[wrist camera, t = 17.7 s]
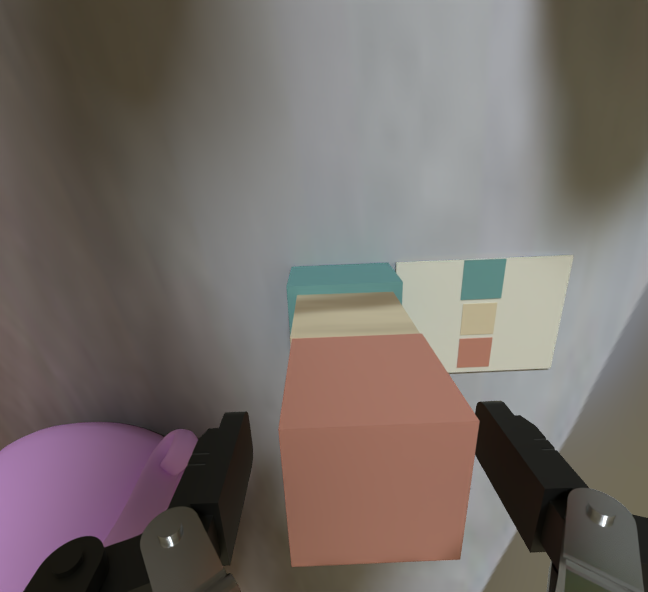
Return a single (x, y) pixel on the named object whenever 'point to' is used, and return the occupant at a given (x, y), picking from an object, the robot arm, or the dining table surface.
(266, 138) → the dining table surface
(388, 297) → the maple block
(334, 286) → the teal base brick
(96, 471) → the teapot
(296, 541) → the red block
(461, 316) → the page
